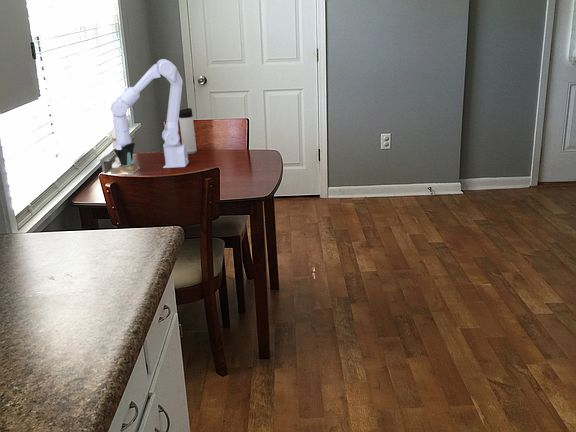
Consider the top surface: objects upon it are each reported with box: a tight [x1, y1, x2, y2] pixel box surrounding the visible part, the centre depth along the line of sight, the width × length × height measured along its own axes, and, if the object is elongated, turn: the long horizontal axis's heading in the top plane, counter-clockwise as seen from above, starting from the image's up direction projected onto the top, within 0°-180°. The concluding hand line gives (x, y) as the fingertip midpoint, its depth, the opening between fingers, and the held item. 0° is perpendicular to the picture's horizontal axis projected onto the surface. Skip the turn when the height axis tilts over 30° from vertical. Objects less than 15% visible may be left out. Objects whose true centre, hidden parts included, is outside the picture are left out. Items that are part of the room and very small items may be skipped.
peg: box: [122, 152, 133, 167], centre depth 270 cm, size 3×3×7 cm
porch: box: [99, 153, 141, 175], centre depth 270 cm, size 13×10×7 cm
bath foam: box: [111, 127, 121, 164], centre depth 286 cm, size 7×7×20 cm
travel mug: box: [178, 107, 198, 155], centre depth 294 cm, size 6×7×20 cm
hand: (127, 163), depth 270 cm, fingers open, 7 cm apart
